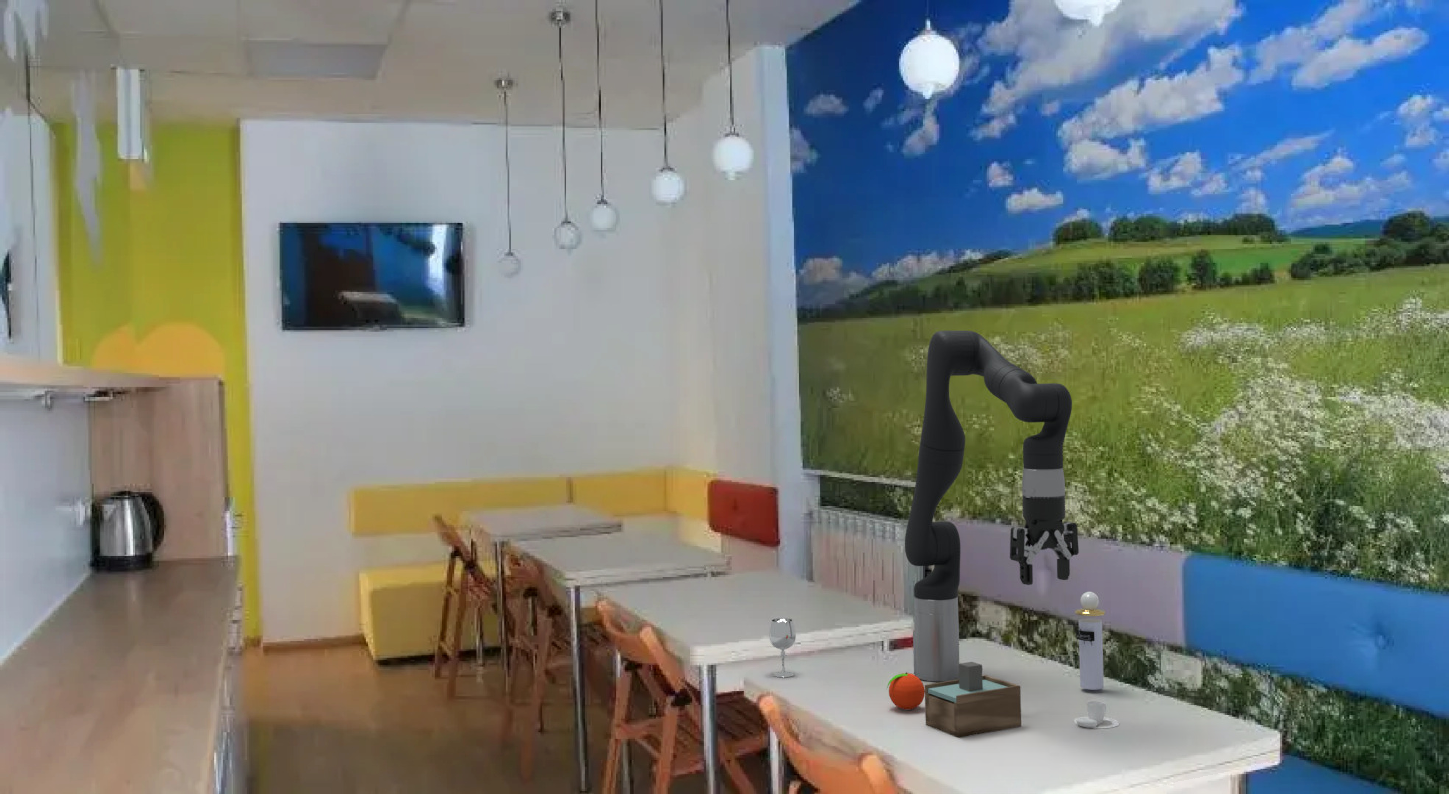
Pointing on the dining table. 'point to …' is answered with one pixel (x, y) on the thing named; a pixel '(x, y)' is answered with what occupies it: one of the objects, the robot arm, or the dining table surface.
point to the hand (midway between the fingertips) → (1045, 581)
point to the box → (974, 709)
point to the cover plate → (956, 691)
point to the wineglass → (782, 639)
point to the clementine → (906, 691)
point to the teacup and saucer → (1095, 716)
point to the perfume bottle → (1090, 643)
